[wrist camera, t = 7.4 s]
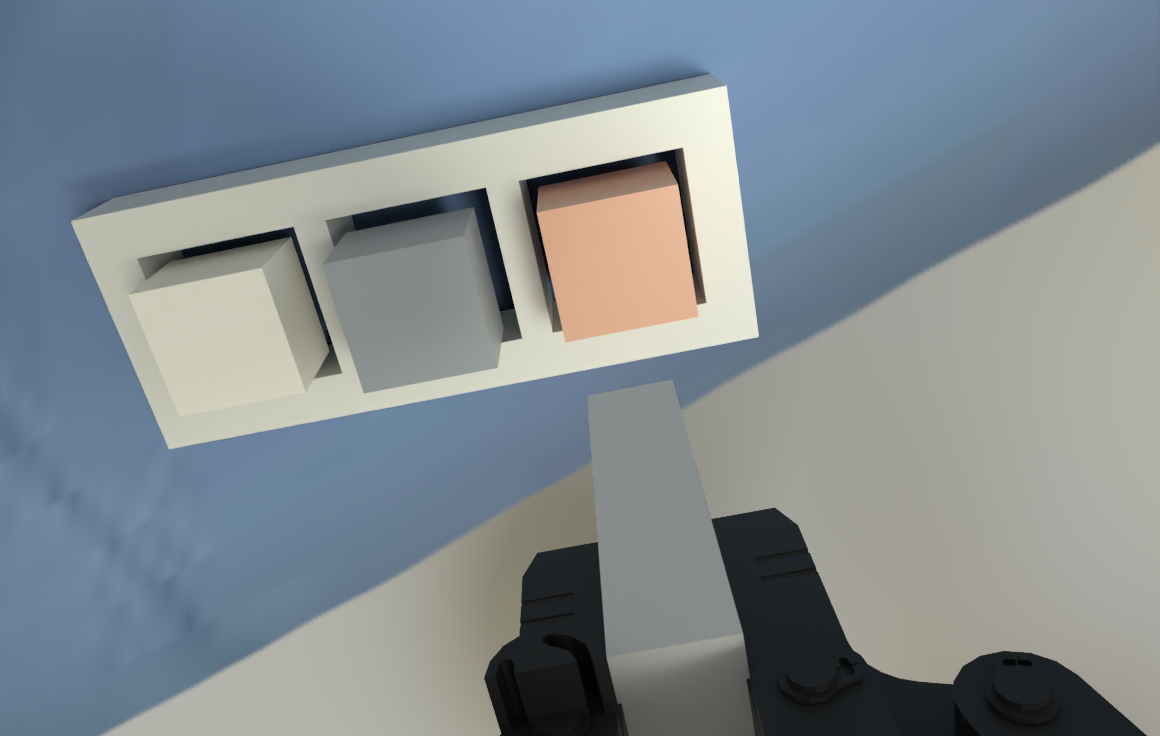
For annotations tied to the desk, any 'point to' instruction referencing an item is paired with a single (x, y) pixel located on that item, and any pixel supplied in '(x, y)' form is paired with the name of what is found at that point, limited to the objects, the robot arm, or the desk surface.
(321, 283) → the keypad housing
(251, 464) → the desk surface
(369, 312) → the key slate
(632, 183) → the key terracotta
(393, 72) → the desk surface
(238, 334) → the key ivory
